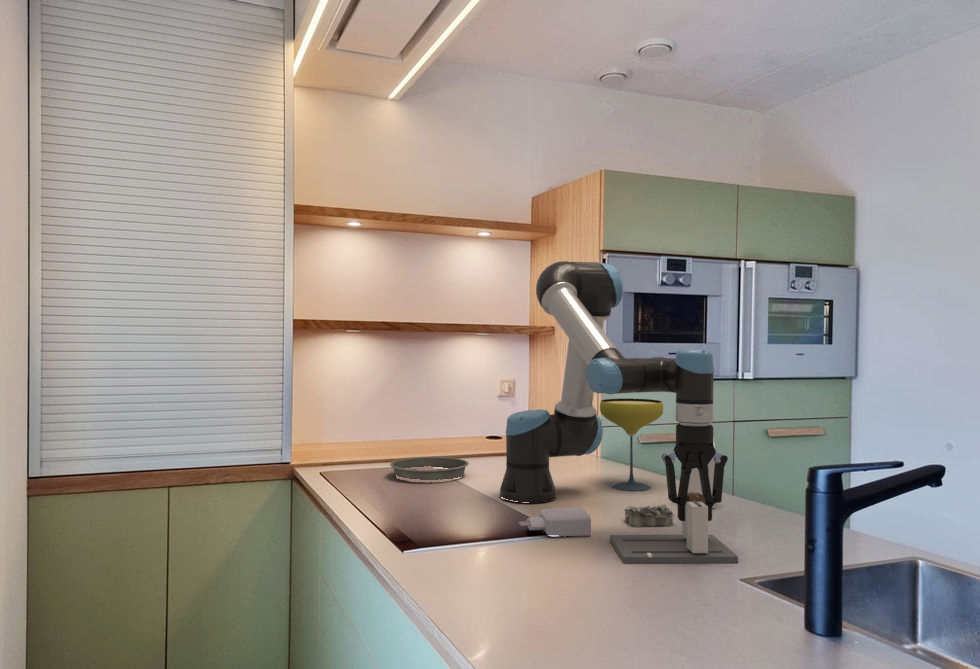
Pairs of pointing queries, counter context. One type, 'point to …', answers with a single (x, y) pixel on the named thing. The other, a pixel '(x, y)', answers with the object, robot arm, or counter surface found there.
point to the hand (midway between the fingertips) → (694, 536)
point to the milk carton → (695, 478)
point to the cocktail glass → (631, 425)
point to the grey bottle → (561, 522)
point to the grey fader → (697, 527)
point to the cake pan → (453, 465)
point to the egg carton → (648, 516)
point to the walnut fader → (695, 497)
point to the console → (668, 550)
